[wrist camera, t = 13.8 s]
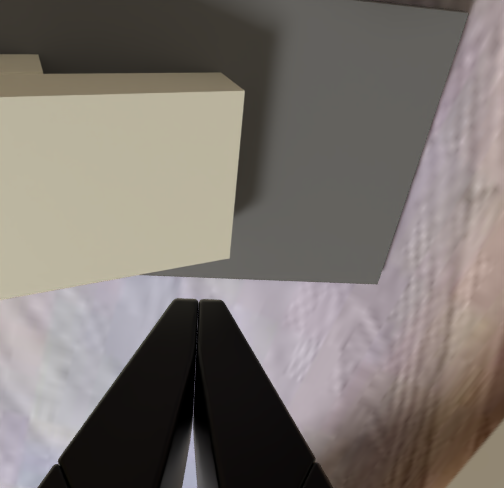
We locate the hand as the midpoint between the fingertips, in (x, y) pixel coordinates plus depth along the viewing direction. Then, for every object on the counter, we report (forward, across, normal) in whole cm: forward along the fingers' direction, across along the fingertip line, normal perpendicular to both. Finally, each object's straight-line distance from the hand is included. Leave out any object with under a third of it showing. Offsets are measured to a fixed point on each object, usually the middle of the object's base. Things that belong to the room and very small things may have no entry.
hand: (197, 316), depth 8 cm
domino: (+6, -1, 0) cm, 6 cm away
